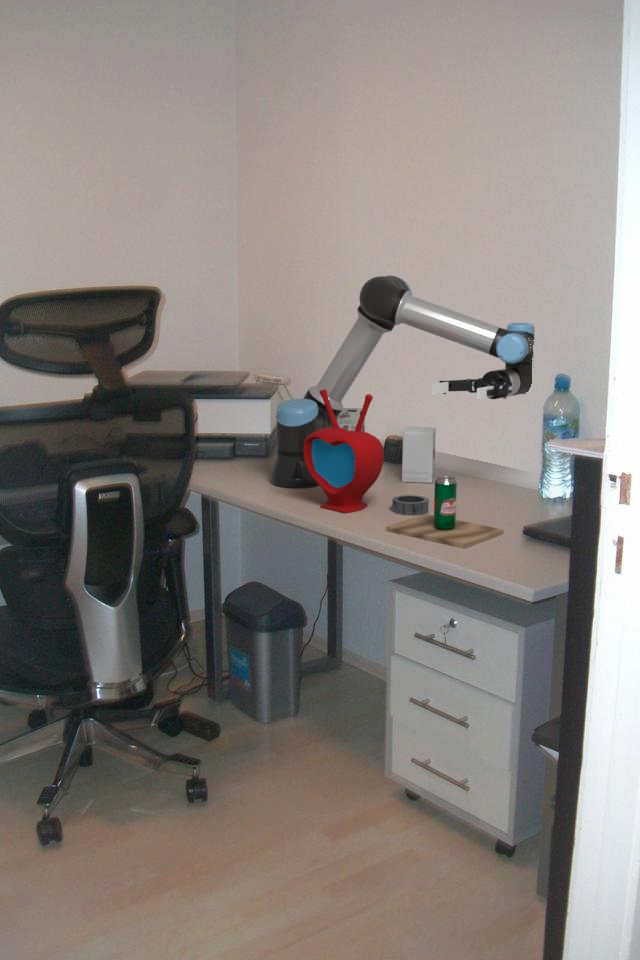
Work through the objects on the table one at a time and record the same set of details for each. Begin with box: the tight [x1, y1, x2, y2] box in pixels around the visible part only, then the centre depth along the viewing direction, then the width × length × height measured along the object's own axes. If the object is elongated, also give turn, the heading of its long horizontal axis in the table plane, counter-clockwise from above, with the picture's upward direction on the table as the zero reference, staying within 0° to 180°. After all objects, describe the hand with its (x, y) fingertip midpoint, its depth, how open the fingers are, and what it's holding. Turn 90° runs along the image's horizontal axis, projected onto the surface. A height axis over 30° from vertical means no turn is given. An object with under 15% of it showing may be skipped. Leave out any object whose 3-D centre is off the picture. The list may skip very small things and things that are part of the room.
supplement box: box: [401, 426, 437, 484], centre depth 276 cm, size 9×9×15 cm
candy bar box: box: [337, 407, 366, 432], centre depth 307 cm, size 11×5×16 cm, turn 74°
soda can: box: [433, 475, 458, 530], centre depth 221 cm, size 5×5×12 cm
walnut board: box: [385, 513, 504, 549], centre depth 222 cm, size 22×16×1 cm
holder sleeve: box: [391, 494, 430, 516], centre depth 242 cm, size 9×9×3 cm
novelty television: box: [303, 389, 385, 514], centre depth 243 cm, size 21×13×30 cm, turn 46°
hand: (454, 391), depth 239 cm, fingers open, 13 cm apart
